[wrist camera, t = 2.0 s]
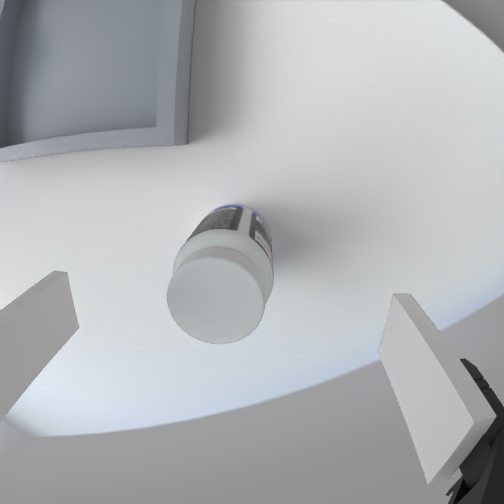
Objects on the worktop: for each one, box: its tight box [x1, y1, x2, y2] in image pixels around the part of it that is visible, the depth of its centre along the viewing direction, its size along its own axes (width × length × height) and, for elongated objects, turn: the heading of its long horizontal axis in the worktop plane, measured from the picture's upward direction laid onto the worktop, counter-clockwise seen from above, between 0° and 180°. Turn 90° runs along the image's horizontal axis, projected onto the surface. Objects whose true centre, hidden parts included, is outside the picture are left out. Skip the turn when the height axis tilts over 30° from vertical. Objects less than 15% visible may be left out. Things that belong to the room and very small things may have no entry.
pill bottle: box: [167, 205, 273, 344], centre depth 16 cm, size 5×5×8 cm
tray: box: [0, 0, 196, 162], centre depth 15 cm, size 16×16×3 cm
